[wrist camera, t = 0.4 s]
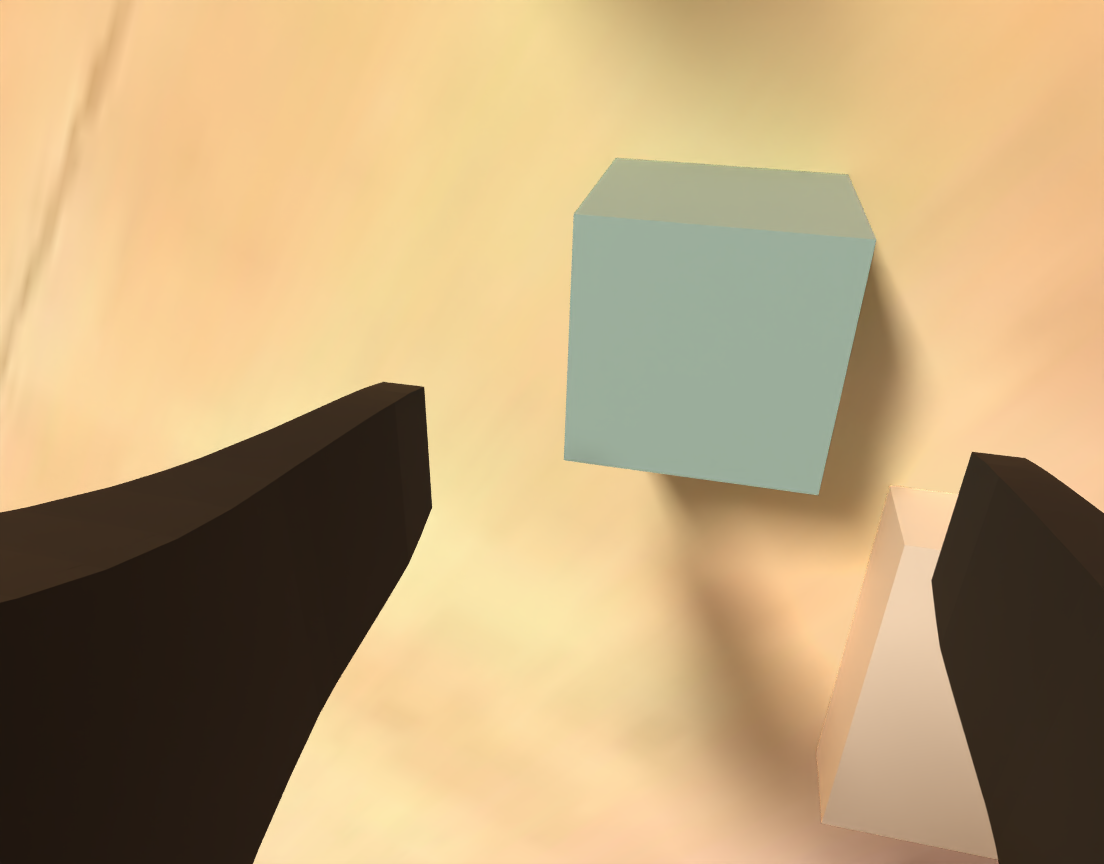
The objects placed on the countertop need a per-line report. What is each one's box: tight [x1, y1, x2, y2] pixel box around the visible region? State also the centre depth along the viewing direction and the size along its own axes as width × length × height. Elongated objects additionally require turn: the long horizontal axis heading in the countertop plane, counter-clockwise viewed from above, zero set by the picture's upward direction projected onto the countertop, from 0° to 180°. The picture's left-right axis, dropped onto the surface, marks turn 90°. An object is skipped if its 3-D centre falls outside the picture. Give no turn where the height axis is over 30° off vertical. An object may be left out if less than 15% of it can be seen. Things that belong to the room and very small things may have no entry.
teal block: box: [564, 158, 876, 495], centre depth 17 cm, size 5×5×5 cm
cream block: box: [816, 485, 998, 860], centre depth 22 cm, size 10×10×3 cm
